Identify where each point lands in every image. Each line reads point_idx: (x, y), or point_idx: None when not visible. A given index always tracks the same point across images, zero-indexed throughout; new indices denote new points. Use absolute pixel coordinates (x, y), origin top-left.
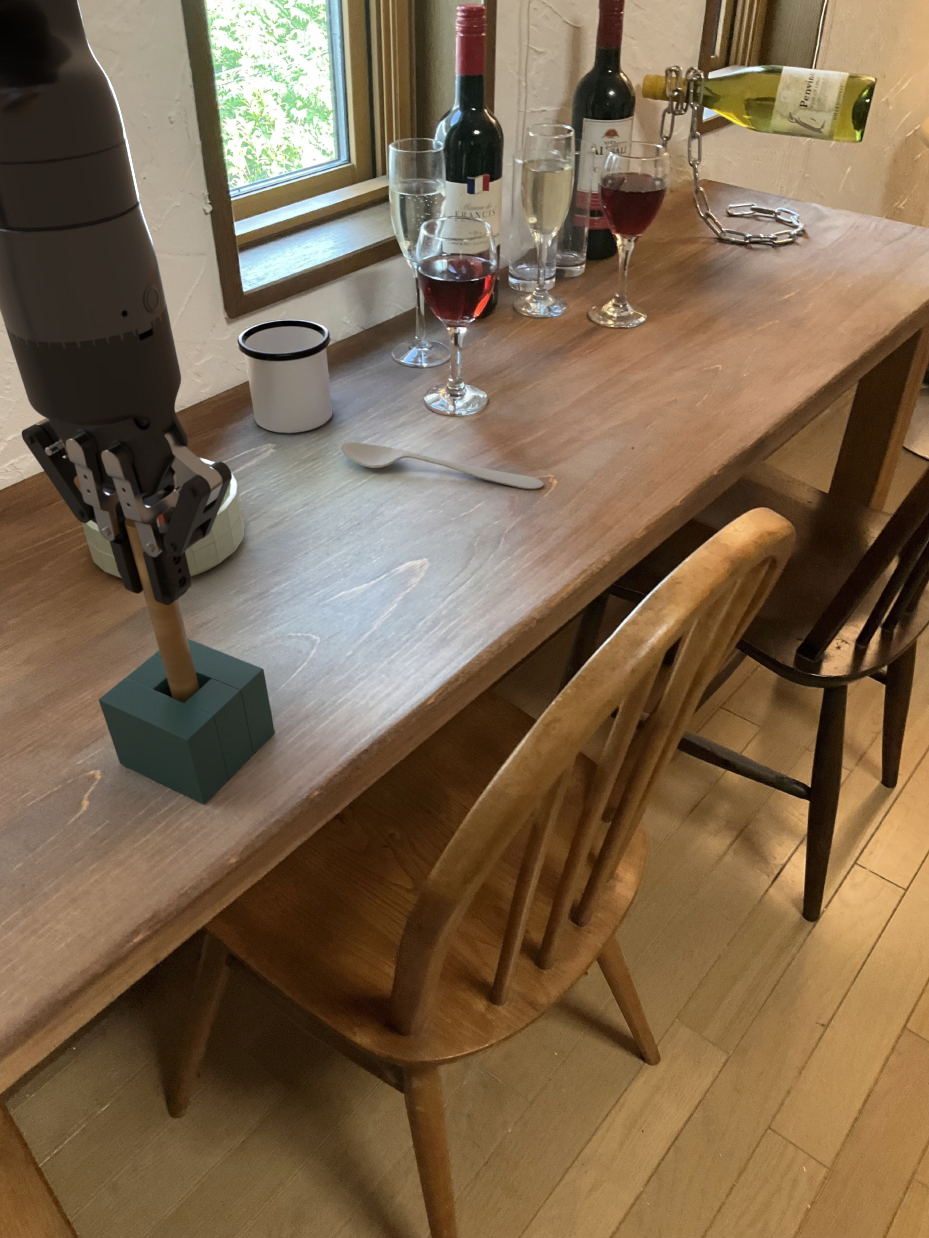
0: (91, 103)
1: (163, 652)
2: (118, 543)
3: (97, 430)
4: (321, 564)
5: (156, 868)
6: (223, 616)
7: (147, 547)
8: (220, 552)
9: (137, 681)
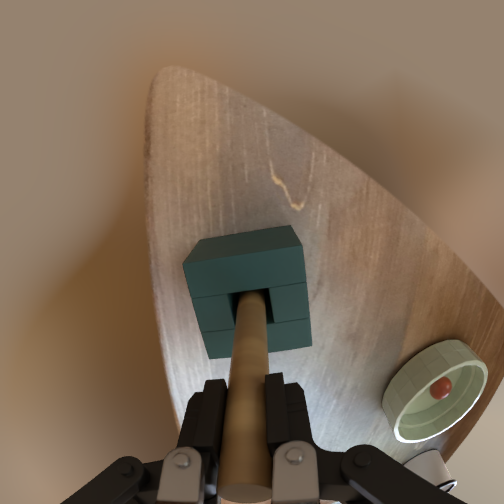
0: None
1: (247, 324)
2: (274, 443)
3: None
4: (323, 427)
5: (179, 178)
6: (347, 369)
7: (178, 461)
8: (385, 401)
9: (290, 285)
